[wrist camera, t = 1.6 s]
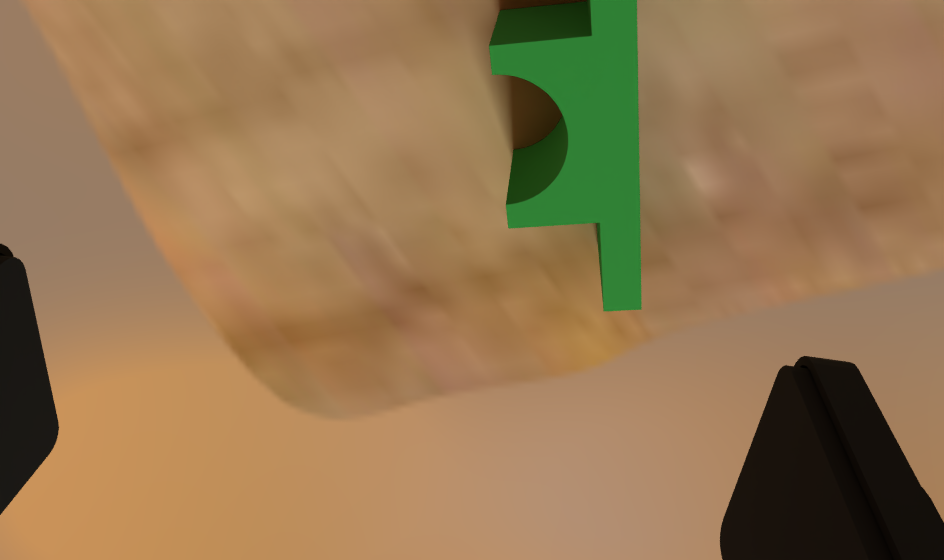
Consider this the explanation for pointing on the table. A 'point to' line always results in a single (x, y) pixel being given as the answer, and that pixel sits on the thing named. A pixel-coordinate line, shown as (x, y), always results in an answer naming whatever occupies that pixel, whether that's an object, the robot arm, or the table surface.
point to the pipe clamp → (580, 129)
